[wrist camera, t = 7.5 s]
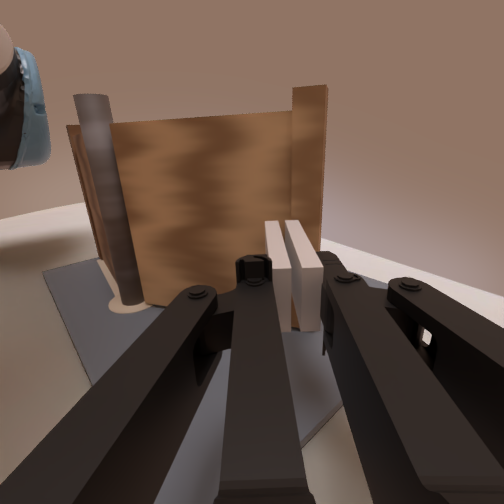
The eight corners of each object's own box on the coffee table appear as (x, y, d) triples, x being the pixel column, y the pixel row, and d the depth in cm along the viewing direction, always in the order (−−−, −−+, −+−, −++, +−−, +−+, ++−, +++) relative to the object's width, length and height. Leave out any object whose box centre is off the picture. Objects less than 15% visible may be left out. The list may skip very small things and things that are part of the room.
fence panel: (143, 304, 23) (102, 105, 17) (155, 294, 24) (121, 107, 19) (314, 330, 19) (326, 84, 14) (316, 316, 20) (328, 89, 15)
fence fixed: (151, 306, 24) (110, 94, 18) (126, 314, 23) (74, 92, 17) (116, 256, 35) (83, 115, 29) (98, 261, 34) (60, 114, 28)
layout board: (43, 276, 30) (41, 271, 30) (216, 230, 43) (216, 226, 43) (177, 577, 9) (174, 567, 9) (437, 306, 22) (438, 299, 22)
